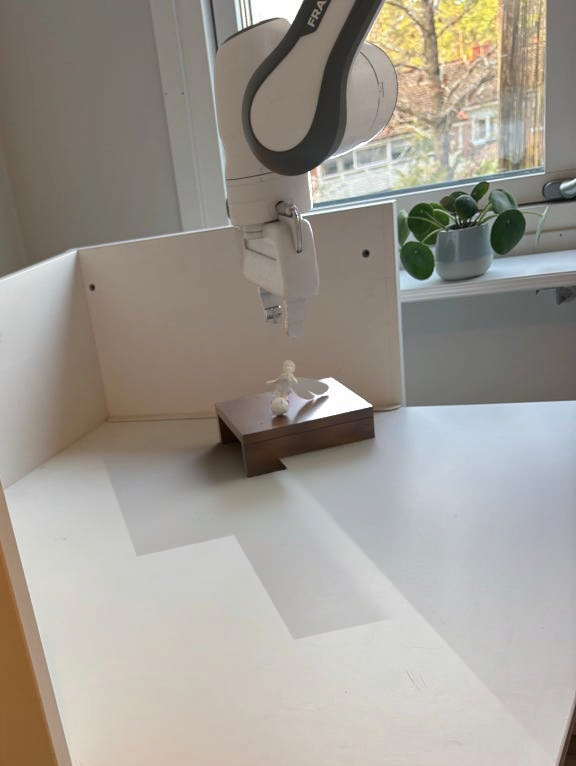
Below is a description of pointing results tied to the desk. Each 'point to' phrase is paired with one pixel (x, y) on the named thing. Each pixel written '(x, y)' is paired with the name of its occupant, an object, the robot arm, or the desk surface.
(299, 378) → the fairy figurine
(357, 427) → the display shelf
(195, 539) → the desk surface
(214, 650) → the desk surface
